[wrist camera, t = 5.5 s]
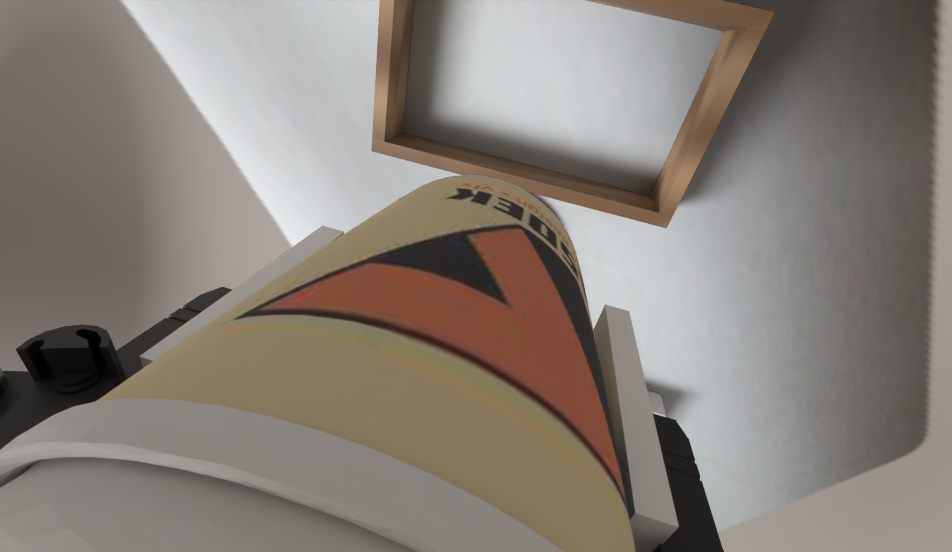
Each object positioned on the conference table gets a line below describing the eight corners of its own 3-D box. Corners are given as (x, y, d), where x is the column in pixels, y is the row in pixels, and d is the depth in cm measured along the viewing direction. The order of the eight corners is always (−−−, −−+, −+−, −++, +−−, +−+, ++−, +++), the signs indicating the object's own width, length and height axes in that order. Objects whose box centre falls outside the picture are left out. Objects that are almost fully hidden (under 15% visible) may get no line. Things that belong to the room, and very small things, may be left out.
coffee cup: (660, 285, 14) (931, 980, 3) (481, 397, 18) (370, 839, 8) (465, 81, 12) (-237, 286, 2) (320, 263, 16) (-99, 623, 6)
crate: (406, -58, 28) (383, -73, 24) (747, 17, 26) (775, 11, 23) (390, 141, 35) (371, 151, 32) (656, 210, 33) (666, 228, 30)
